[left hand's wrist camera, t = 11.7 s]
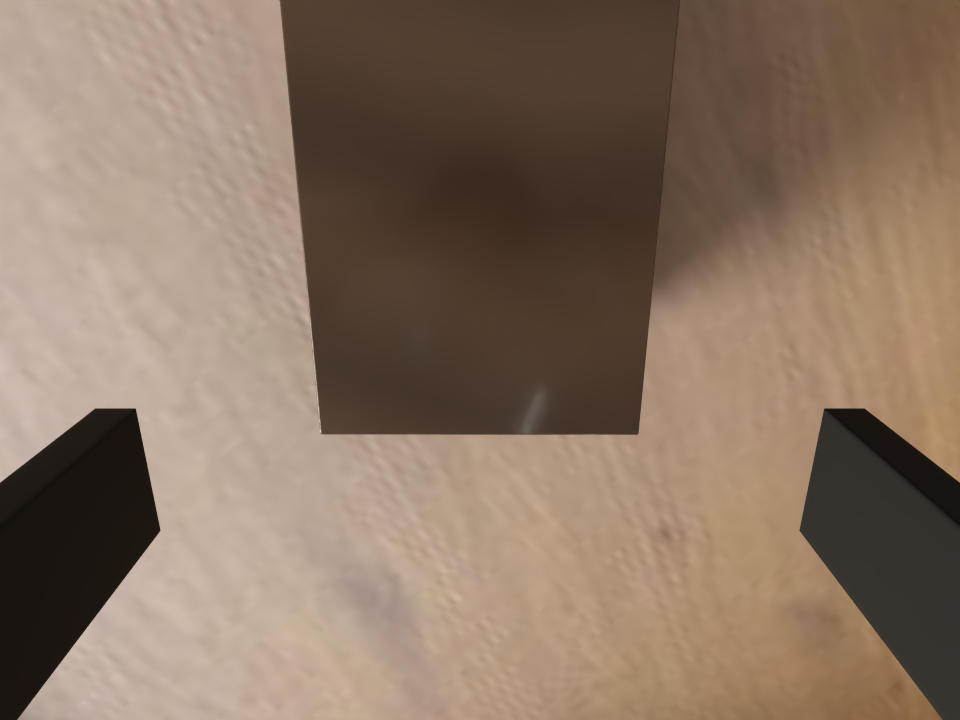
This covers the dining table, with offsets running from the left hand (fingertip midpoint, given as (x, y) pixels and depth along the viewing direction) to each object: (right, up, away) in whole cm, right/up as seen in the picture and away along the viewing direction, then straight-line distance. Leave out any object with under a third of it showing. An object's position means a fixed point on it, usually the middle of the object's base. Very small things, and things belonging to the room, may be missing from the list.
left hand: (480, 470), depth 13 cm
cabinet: (0, +11, +14) cm, 18 cm away
